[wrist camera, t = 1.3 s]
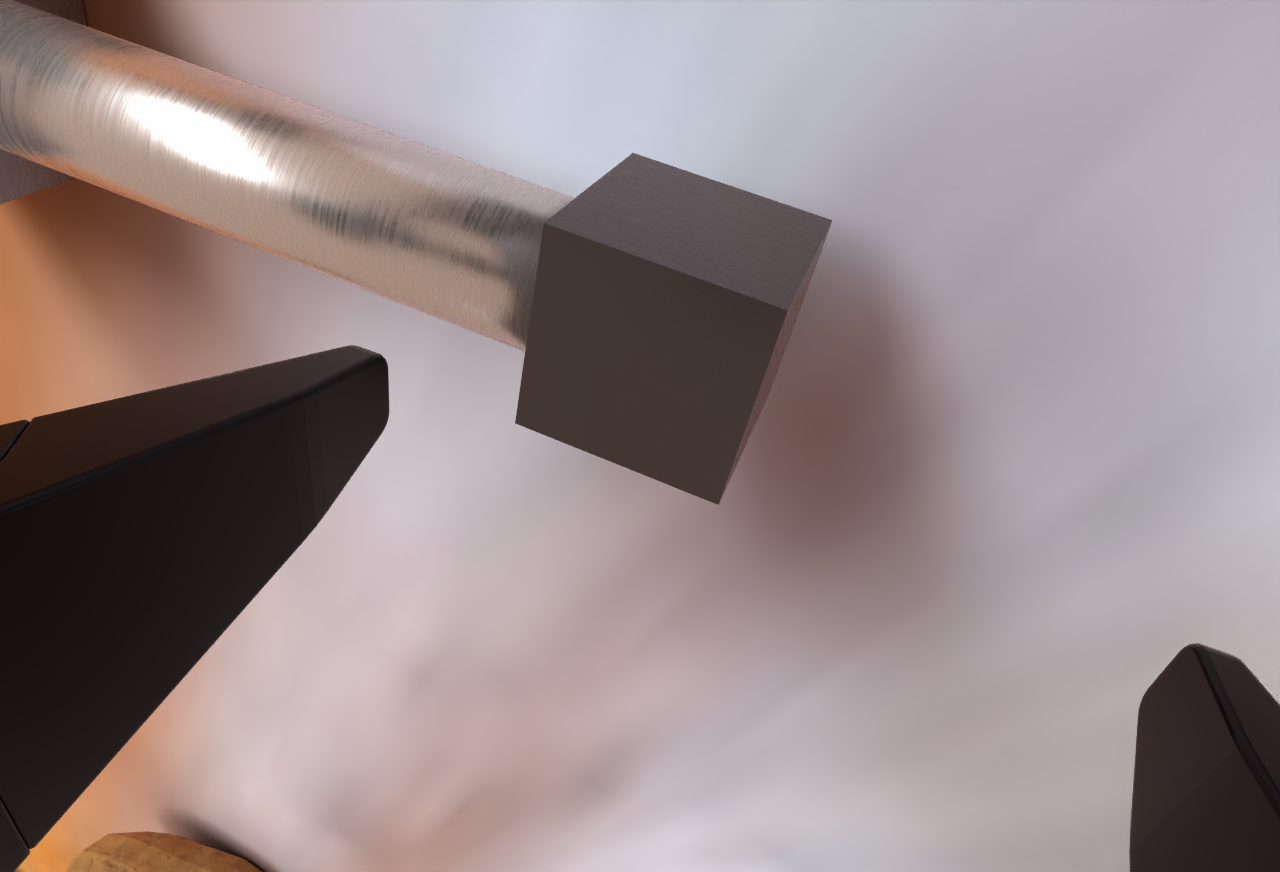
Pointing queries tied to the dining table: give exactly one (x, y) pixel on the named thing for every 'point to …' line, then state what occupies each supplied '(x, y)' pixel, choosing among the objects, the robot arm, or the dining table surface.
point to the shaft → (452, 240)
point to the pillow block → (15, 175)
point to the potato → (155, 855)
